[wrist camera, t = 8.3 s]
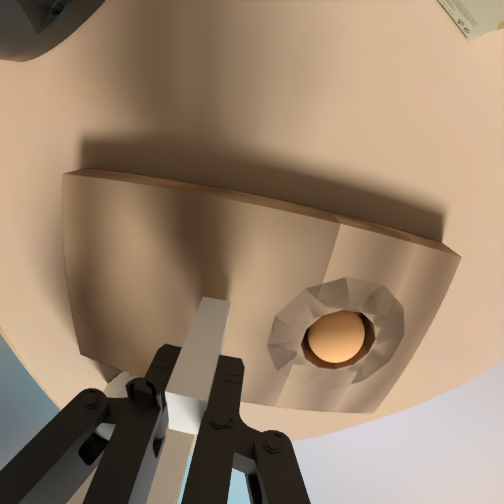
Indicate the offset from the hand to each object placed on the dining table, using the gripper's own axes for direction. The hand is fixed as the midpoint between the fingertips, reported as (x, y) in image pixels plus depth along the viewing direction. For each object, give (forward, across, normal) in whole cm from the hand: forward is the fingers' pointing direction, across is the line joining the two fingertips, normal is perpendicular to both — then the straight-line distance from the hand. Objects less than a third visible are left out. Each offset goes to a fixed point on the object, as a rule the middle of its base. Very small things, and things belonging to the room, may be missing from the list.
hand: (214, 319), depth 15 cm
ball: (+2, +7, -1) cm, 8 cm away
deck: (+3, +2, -1) cm, 4 cm away
